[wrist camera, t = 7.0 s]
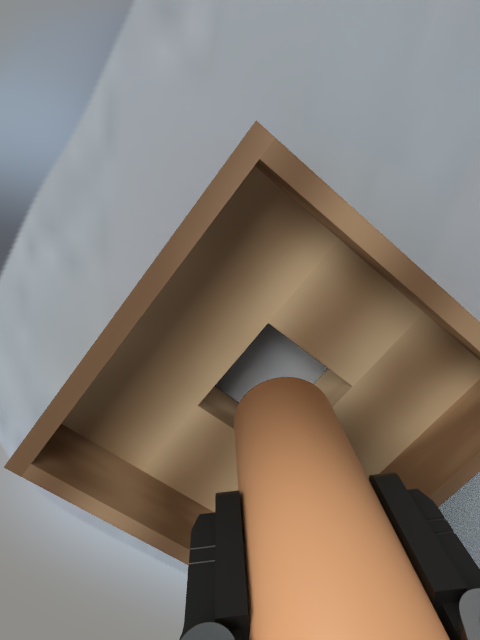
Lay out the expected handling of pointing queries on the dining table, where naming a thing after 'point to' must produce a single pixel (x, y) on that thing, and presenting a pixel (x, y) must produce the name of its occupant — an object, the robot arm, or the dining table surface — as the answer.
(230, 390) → the dining table surface
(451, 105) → the dining table surface
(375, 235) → the box
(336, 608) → the peg
